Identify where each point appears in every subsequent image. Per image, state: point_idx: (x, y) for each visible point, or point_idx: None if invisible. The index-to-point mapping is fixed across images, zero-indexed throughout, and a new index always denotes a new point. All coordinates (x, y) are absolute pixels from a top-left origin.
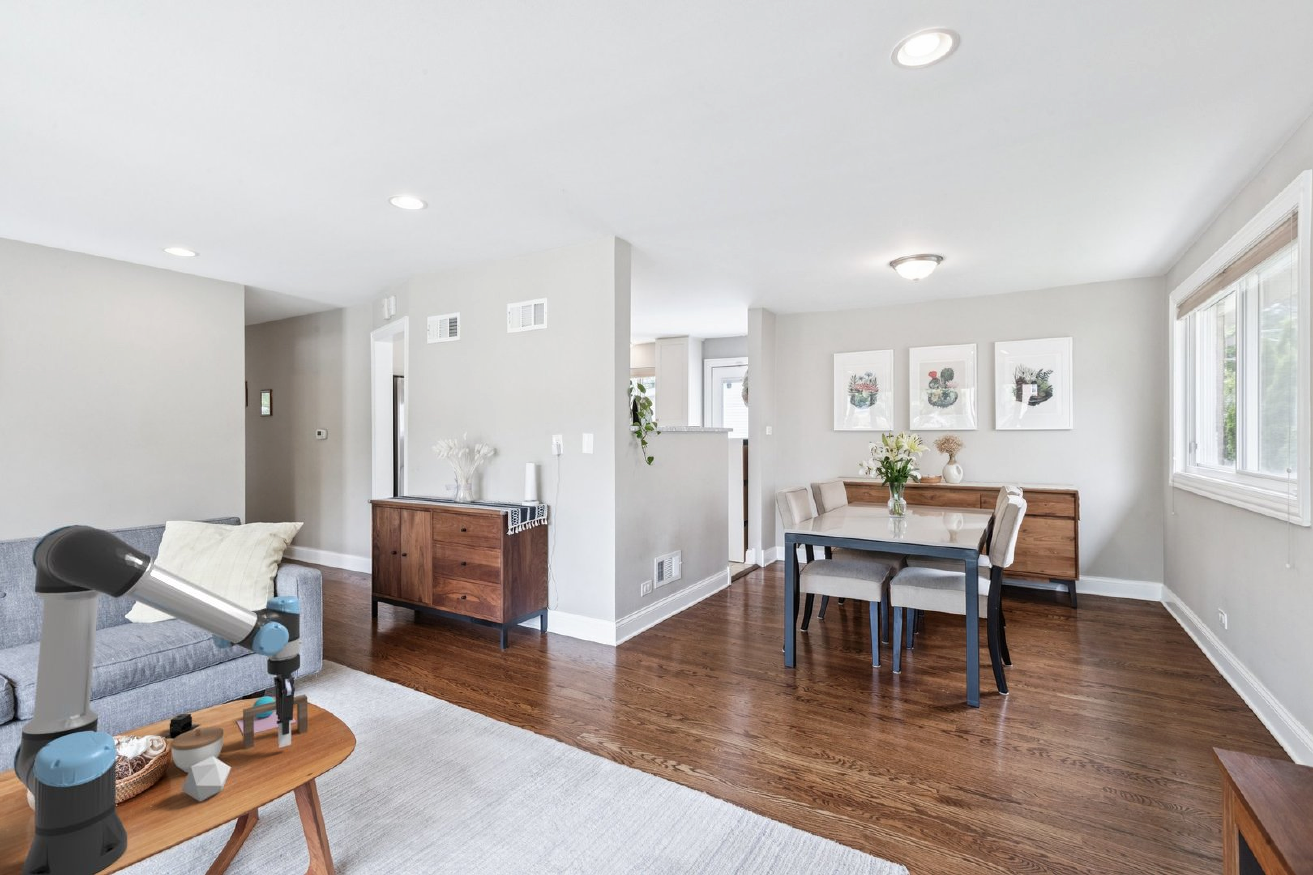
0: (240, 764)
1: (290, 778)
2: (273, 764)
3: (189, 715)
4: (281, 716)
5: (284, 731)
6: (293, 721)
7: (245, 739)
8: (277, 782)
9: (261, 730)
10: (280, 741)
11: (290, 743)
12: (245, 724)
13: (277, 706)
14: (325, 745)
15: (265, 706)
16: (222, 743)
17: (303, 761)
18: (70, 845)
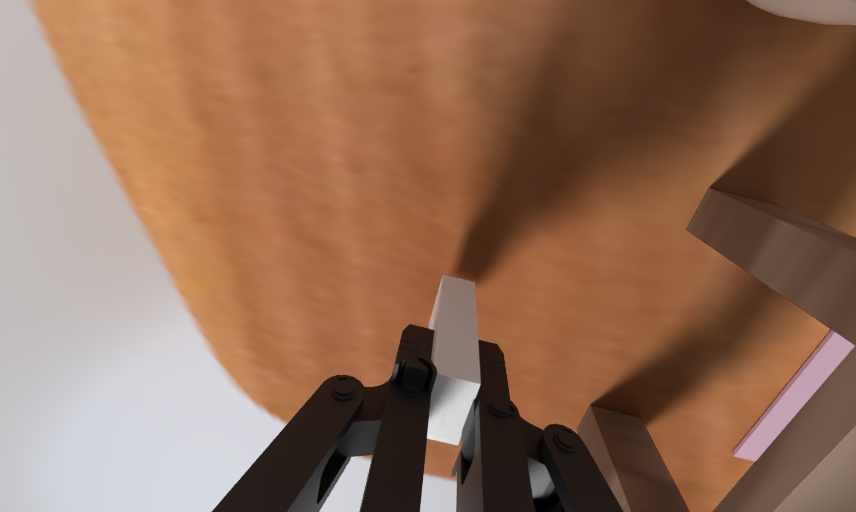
0: (525, 79)
1: (134, 170)
2: (359, 191)
3: None
4: (347, 420)
5: (399, 344)
6: (752, 451)
7: (744, 206)
8: (130, 112)
9: (840, 338)
10: (440, 296)
11: (430, 323)
12: (836, 249)
13: (572, 508)
14: None
15: (853, 468)
16: (780, 4)
17: (275, 283)
18: None
